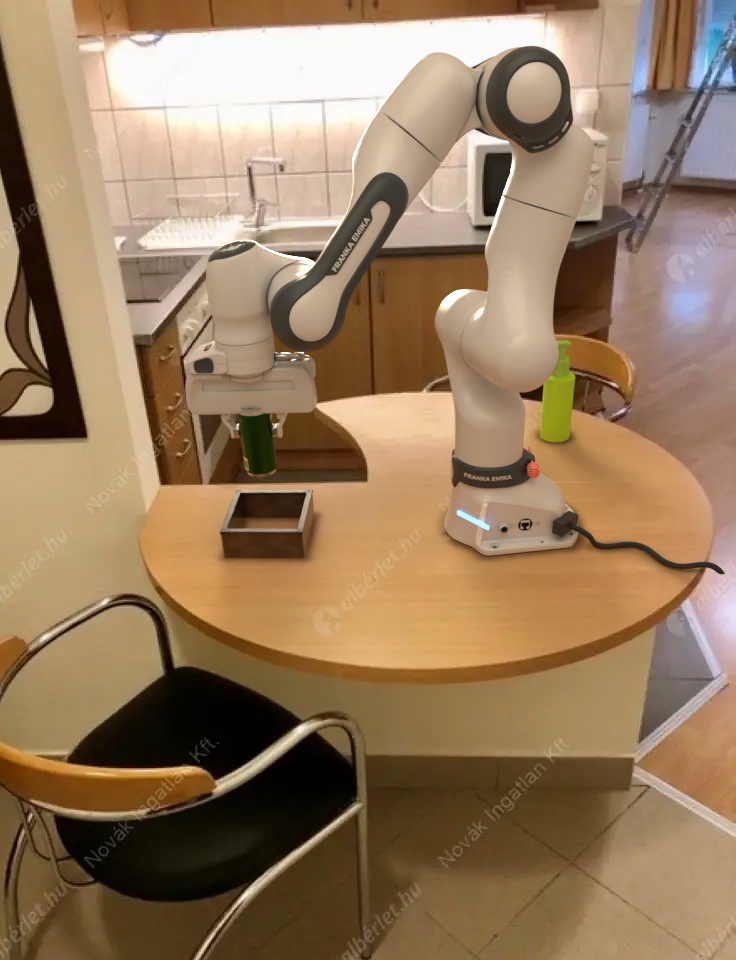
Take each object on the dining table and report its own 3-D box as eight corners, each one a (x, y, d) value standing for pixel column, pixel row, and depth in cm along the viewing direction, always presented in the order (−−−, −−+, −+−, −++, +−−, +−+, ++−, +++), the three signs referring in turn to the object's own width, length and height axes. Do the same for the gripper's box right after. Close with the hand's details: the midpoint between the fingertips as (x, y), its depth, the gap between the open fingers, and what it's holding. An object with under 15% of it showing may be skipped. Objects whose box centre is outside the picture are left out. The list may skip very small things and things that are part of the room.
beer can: (255, 481, 137) (245, 413, 130) (239, 469, 140) (229, 402, 134) (284, 471, 139) (276, 403, 132) (268, 459, 143) (259, 392, 136)
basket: (314, 515, 154) (312, 489, 151) (305, 558, 142) (302, 532, 139) (239, 515, 155) (236, 489, 152) (223, 558, 144) (219, 531, 141)
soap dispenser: (529, 433, 176) (536, 340, 165) (560, 427, 177) (568, 334, 166) (544, 445, 171) (551, 349, 160) (574, 439, 172) (584, 344, 162)
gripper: (316, 344, 130) (323, 426, 138) (186, 348, 133) (200, 428, 140) (311, 360, 125) (319, 444, 132) (176, 363, 127) (191, 446, 135)
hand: (257, 436), depth 136 cm, fingers closed on beer can, 5 cm apart
